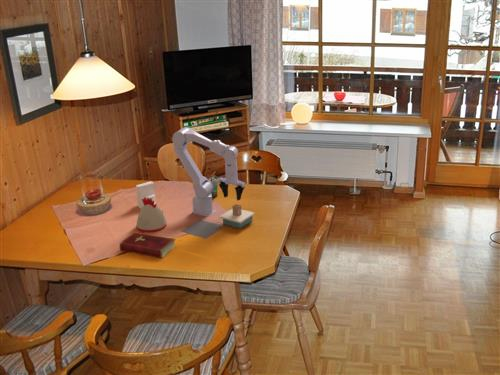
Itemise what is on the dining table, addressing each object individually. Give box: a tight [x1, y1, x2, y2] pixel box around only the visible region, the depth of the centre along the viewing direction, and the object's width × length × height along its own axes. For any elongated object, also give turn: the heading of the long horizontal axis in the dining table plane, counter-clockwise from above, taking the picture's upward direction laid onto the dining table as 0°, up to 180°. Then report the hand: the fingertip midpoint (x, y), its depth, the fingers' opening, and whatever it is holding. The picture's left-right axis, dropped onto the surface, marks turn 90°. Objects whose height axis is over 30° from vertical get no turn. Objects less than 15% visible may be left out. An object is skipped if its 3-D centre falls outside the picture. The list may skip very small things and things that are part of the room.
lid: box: [219, 203, 256, 223], centre depth 268 cm, size 12×12×5 cm
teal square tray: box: [222, 216, 253, 230], centre depth 270 cm, size 10×10×4 cm
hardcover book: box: [119, 231, 176, 259], centre depth 248 cm, size 12×21×4 cm, turn 67°
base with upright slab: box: [136, 180, 157, 210], centre depth 291 cm, size 9×9×12 cm
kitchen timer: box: [136, 197, 168, 234], centre depth 266 cm, size 14×14×15 cm
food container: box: [207, 174, 220, 200], centre depth 302 cm, size 12×6×10 cm, turn 168°
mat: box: [180, 219, 227, 240], centre depth 265 cm, size 15×15×1 cm
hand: (232, 198), depth 275 cm, fingers open, 7 cm apart
